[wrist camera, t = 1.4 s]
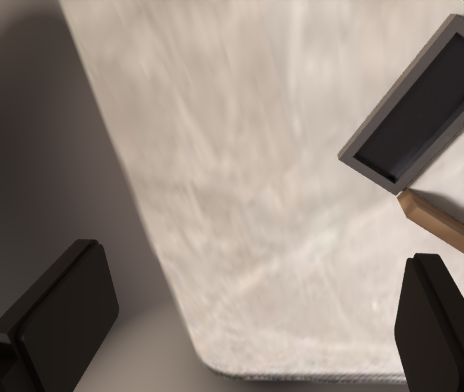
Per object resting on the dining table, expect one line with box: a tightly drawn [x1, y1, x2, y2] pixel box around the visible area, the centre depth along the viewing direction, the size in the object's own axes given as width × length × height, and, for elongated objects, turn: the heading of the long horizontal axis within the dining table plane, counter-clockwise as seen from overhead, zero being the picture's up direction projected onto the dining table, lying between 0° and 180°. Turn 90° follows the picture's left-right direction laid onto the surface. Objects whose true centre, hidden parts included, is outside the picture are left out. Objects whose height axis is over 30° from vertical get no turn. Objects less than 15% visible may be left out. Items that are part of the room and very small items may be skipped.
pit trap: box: [338, 14, 464, 196], centre depth 36 cm, size 16×8×2 cm, turn 150°
